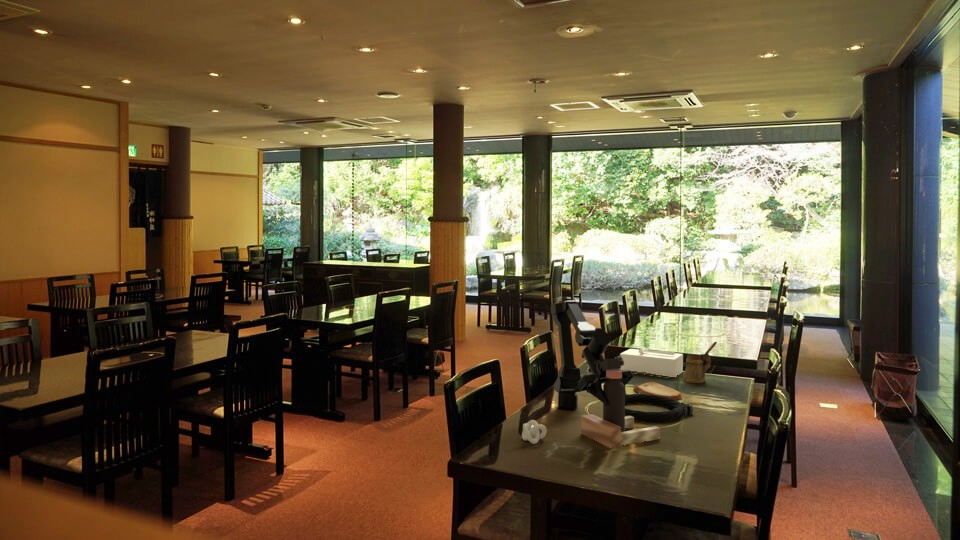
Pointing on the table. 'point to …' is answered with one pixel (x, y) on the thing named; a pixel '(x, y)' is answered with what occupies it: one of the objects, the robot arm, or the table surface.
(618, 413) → the vinegar
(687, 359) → the wooden mug
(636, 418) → the cable lock
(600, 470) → the table surface
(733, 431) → the table surface
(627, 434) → the track
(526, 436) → the knot
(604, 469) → the table surface
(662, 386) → the bread slice
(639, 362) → the tissue box
